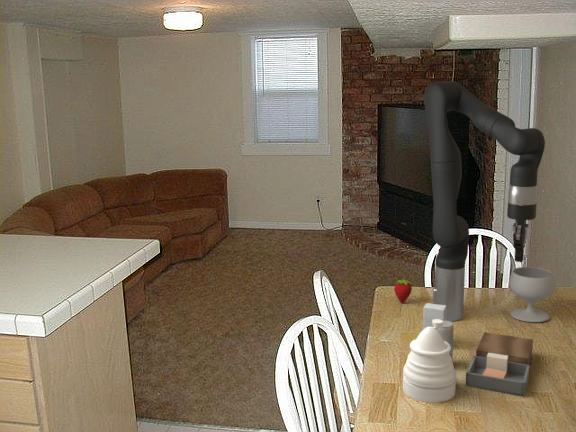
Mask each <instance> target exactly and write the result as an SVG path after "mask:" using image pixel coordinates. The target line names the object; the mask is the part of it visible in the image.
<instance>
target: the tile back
mask: <svg viewBox="0 0 576 432" xmlns="http://www.w3.org/2000/svg"><path fill="white" fill-rule="evenodd" d="M486 368H491V369H496V370H501V371H506V372H507V370H508V356H507V355H501V354H494V353H488V354H487V363H486ZM506 376H507V375H506Z"/></svg>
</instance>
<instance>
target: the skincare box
mask: <svg viewBox="0 0 576 432" xmlns="http://www.w3.org/2000/svg"><path fill="white" fill-rule="evenodd" d="M446 310H447V306H446V305H438V304H433V303H429V302H428V303H427V302H426V303H425V305H424V306H423V309H422V311H423V312H422V314H423V317H422V318H423V319H422V322H423V323H422V331H423V330H424V329H425V328H427V327H433V323H432V320H434V319H440V320H446Z"/></svg>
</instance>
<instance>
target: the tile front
mask: <svg viewBox="0 0 576 432" xmlns="http://www.w3.org/2000/svg"><path fill="white" fill-rule="evenodd" d="M483 375H486V376H491V377H497V378H503V379H506V375H507V372H506V371H501V370H496V369H491V368H486V369H485V371H484V373H483Z"/></svg>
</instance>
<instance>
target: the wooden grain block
mask: <svg viewBox="0 0 576 432" xmlns="http://www.w3.org/2000/svg"><path fill="white" fill-rule="evenodd" d="M533 344H534V339H531V338H525V337H519V336H518V337H517V336H512V335H506V334H505V335H504V334H501V333H500V334H499V333H492V332H486V331H485V332H484V333H483V335H482V336H481V339H480V341H479V344H478V345H477V347H476V350H475V351H476V353H475V356H479V357H485V358H487V354H488V353H494V354H501V355H507V356H508V361H509V362H515V363H521V364H527V365H530V366H531V363H532V358H533V346H534V345H533Z"/></svg>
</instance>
